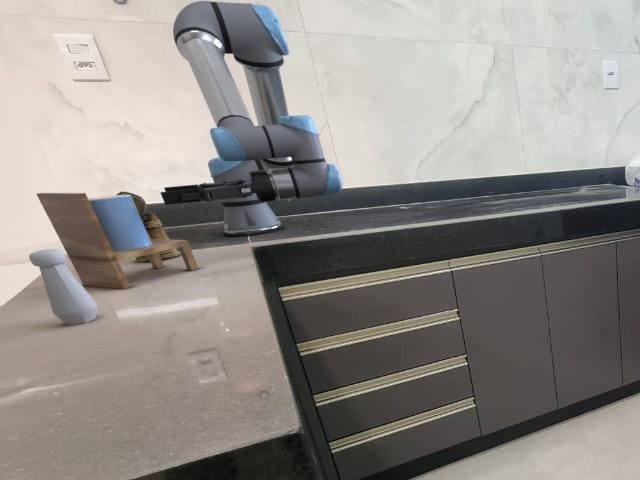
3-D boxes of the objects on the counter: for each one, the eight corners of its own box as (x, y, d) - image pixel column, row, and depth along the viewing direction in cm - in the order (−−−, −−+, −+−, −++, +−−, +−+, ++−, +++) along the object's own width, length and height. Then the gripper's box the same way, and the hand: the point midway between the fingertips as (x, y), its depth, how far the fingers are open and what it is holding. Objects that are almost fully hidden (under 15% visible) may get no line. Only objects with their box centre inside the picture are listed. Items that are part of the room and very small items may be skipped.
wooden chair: (160, 266, 133) (123, 183, 124) (199, 268, 129) (163, 183, 120) (83, 285, 119) (35, 193, 110) (124, 288, 115) (78, 193, 106)
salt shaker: (103, 312, 100) (68, 244, 95) (104, 319, 97) (67, 249, 91) (60, 321, 97) (21, 251, 91) (59, 329, 93) (19, 256, 87)
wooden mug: (131, 267, 132) (96, 193, 125) (139, 257, 143) (107, 188, 135) (176, 261, 137) (145, 189, 129) (180, 251, 147) (152, 184, 139)
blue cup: (153, 241, 126) (132, 193, 121) (150, 246, 120) (128, 196, 115) (93, 249, 120) (69, 199, 115) (88, 255, 114) (61, 203, 110)
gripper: (282, 205, 125) (168, 219, 114) (272, 196, 144) (174, 207, 132) (271, 172, 122) (153, 182, 111) (263, 167, 140) (161, 175, 129)
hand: (164, 196), depth 122 cm, fingers open, 13 cm apart
